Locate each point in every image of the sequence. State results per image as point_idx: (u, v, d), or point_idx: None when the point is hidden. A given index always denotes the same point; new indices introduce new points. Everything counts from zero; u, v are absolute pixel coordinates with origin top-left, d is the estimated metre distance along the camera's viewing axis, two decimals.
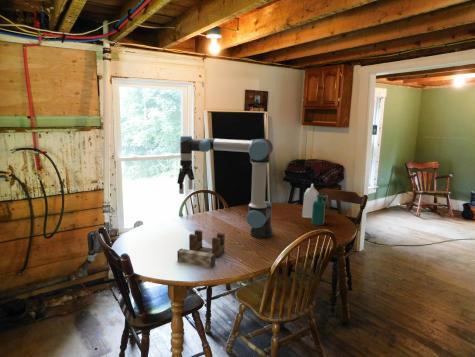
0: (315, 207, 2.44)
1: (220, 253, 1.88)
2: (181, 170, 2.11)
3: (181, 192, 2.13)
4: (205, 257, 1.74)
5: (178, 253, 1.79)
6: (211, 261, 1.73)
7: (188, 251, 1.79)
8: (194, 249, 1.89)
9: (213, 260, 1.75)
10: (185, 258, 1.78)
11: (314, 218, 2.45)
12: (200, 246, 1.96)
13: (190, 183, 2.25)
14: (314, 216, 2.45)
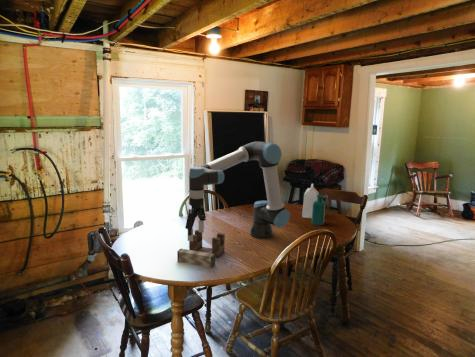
0: (315, 207, 2.44)
1: (220, 253, 1.88)
2: (190, 212, 1.66)
3: (190, 239, 1.69)
4: (205, 257, 1.74)
5: (178, 253, 1.79)
6: (211, 261, 1.73)
7: (188, 251, 1.79)
8: (194, 249, 1.89)
9: (213, 260, 1.75)
10: (185, 258, 1.78)
11: (314, 218, 2.45)
12: (200, 246, 1.96)
13: (201, 225, 1.81)
14: (314, 216, 2.45)
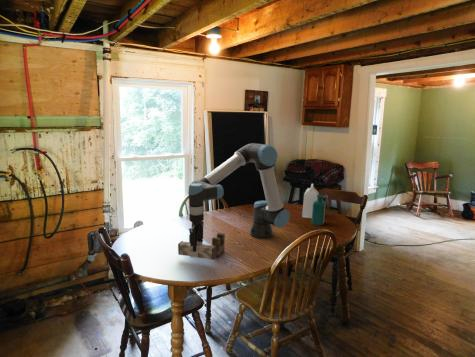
0: (315, 207, 2.44)
1: (220, 253, 1.88)
2: (191, 231, 1.69)
3: (195, 255, 1.75)
4: (206, 249, 1.73)
5: (179, 246, 1.78)
6: (212, 253, 1.73)
7: (189, 244, 1.78)
8: None
9: (214, 252, 1.74)
10: (186, 251, 1.77)
11: (314, 218, 2.45)
12: None
13: None
14: (314, 216, 2.45)
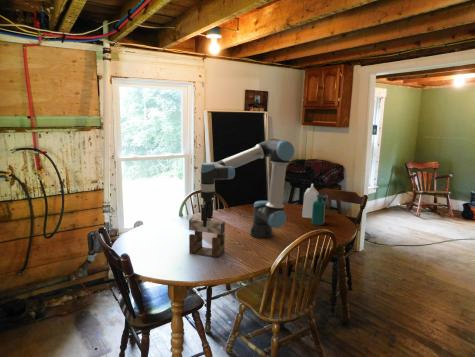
0: (315, 207, 2.44)
1: (220, 253, 1.88)
2: (203, 207, 1.81)
3: (205, 230, 1.87)
4: (216, 224, 1.85)
5: (190, 221, 1.90)
6: (221, 228, 1.85)
7: (199, 220, 1.90)
8: (194, 249, 1.89)
9: (223, 227, 1.86)
10: (196, 226, 1.89)
11: (314, 218, 2.45)
12: (200, 246, 1.96)
13: None
14: (314, 216, 2.45)
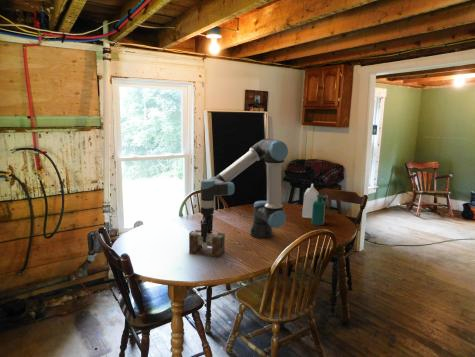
0: (315, 207, 2.44)
1: (220, 253, 1.88)
2: (202, 223, 1.83)
3: (205, 246, 1.89)
4: None
5: None
6: (221, 242, 1.86)
7: (199, 233, 1.92)
8: (194, 249, 1.89)
9: (222, 241, 1.88)
10: None
11: (314, 218, 2.45)
12: (200, 246, 1.96)
13: None
14: (314, 216, 2.45)
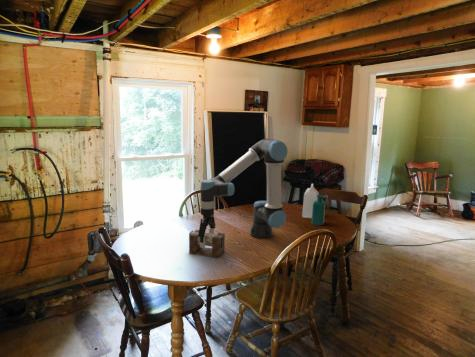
0: (315, 207, 2.44)
1: (220, 253, 1.88)
2: (202, 221, 1.82)
3: (202, 246, 1.85)
4: None
5: None
6: (221, 242, 1.86)
7: None
8: (194, 249, 1.89)
9: (222, 241, 1.88)
10: None
11: (314, 218, 2.45)
12: None
13: (211, 232, 1.97)
14: (314, 216, 2.45)
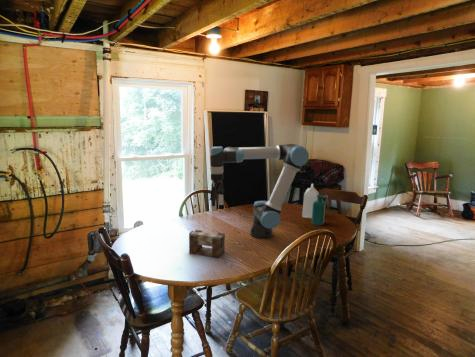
0: (315, 207, 2.44)
1: (220, 253, 1.88)
2: (213, 185, 1.90)
3: (214, 209, 1.93)
4: None
5: None
6: (221, 242, 1.86)
7: (199, 233, 1.92)
8: (194, 249, 1.89)
9: (222, 241, 1.88)
10: None
11: (314, 218, 2.45)
12: (200, 246, 1.96)
13: (221, 198, 2.05)
14: (314, 216, 2.45)
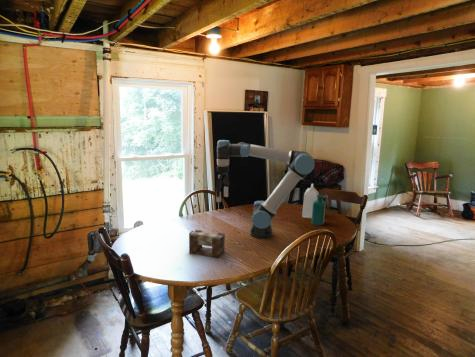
0: (315, 207, 2.44)
1: (220, 253, 1.88)
2: (219, 177, 1.99)
3: (218, 200, 2.01)
4: None
5: None
6: (221, 242, 1.86)
7: (199, 233, 1.92)
8: (194, 249, 1.89)
9: (222, 241, 1.88)
10: None
11: (314, 218, 2.45)
12: (200, 246, 1.96)
13: (226, 190, 2.13)
14: (314, 216, 2.45)
